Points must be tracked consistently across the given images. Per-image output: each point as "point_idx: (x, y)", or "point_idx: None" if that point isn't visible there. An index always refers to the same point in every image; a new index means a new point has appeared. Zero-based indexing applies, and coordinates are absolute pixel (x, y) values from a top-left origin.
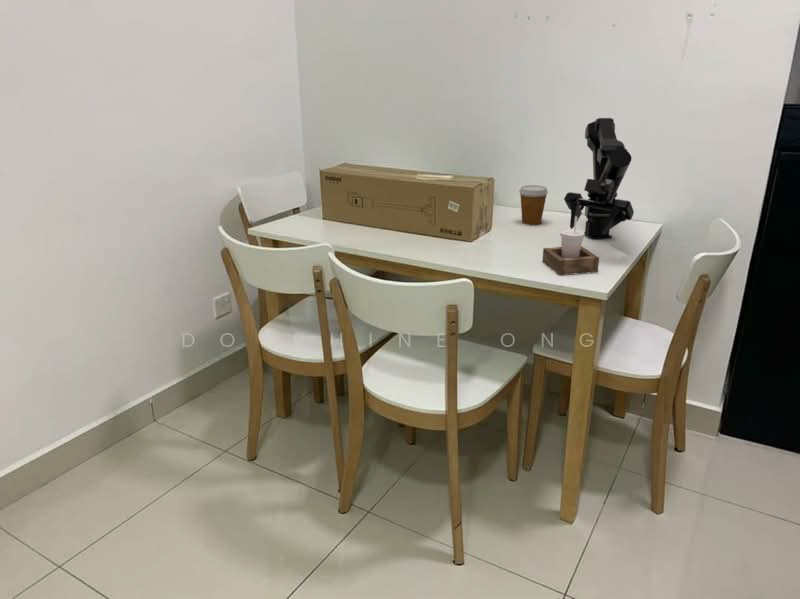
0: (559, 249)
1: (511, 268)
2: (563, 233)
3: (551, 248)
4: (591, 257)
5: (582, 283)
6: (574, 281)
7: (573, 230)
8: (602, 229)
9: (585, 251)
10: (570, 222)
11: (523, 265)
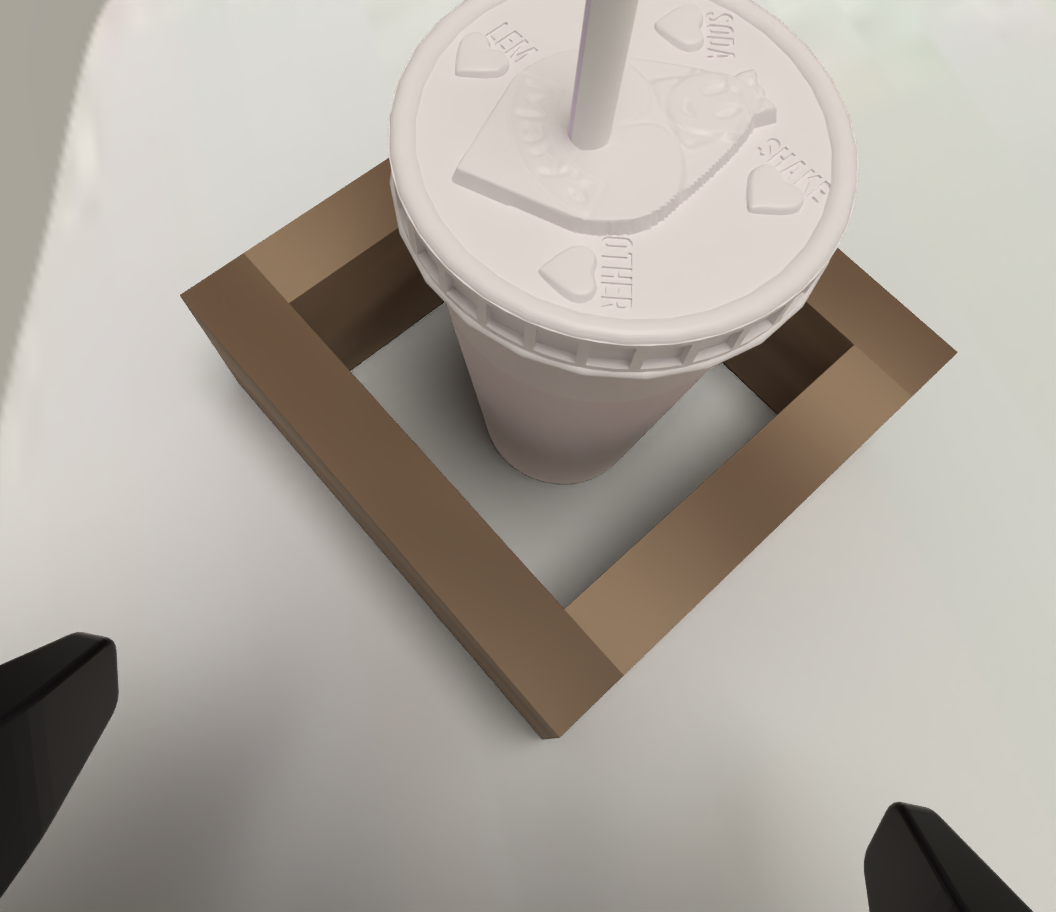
0: (765, 426)
1: (1007, 141)
2: (749, 28)
3: (865, 387)
4: (277, 260)
5: (320, 57)
6: (395, 72)
7: (647, 211)
8: (48, 673)
9: (407, 468)
10: (1017, 896)
11: (967, 253)
